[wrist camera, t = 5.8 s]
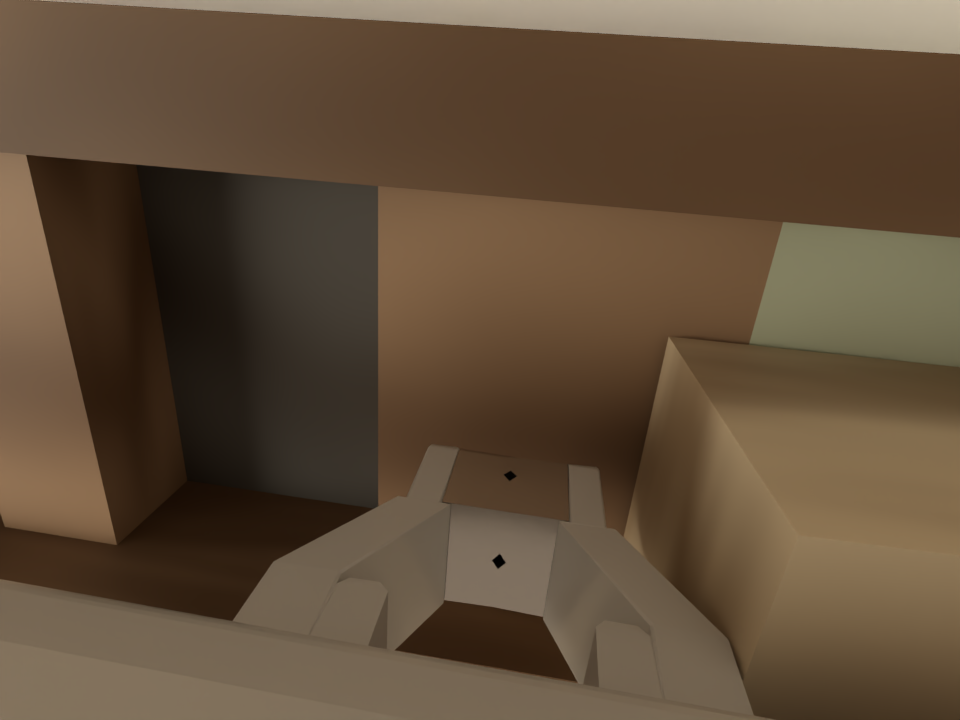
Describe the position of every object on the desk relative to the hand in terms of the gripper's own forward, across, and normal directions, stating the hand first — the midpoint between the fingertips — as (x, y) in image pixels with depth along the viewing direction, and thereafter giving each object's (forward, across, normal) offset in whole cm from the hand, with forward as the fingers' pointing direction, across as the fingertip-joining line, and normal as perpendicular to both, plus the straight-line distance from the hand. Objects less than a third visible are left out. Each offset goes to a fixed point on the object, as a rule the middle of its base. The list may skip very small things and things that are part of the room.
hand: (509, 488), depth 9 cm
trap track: (+4, +5, 0) cm, 7 cm away
